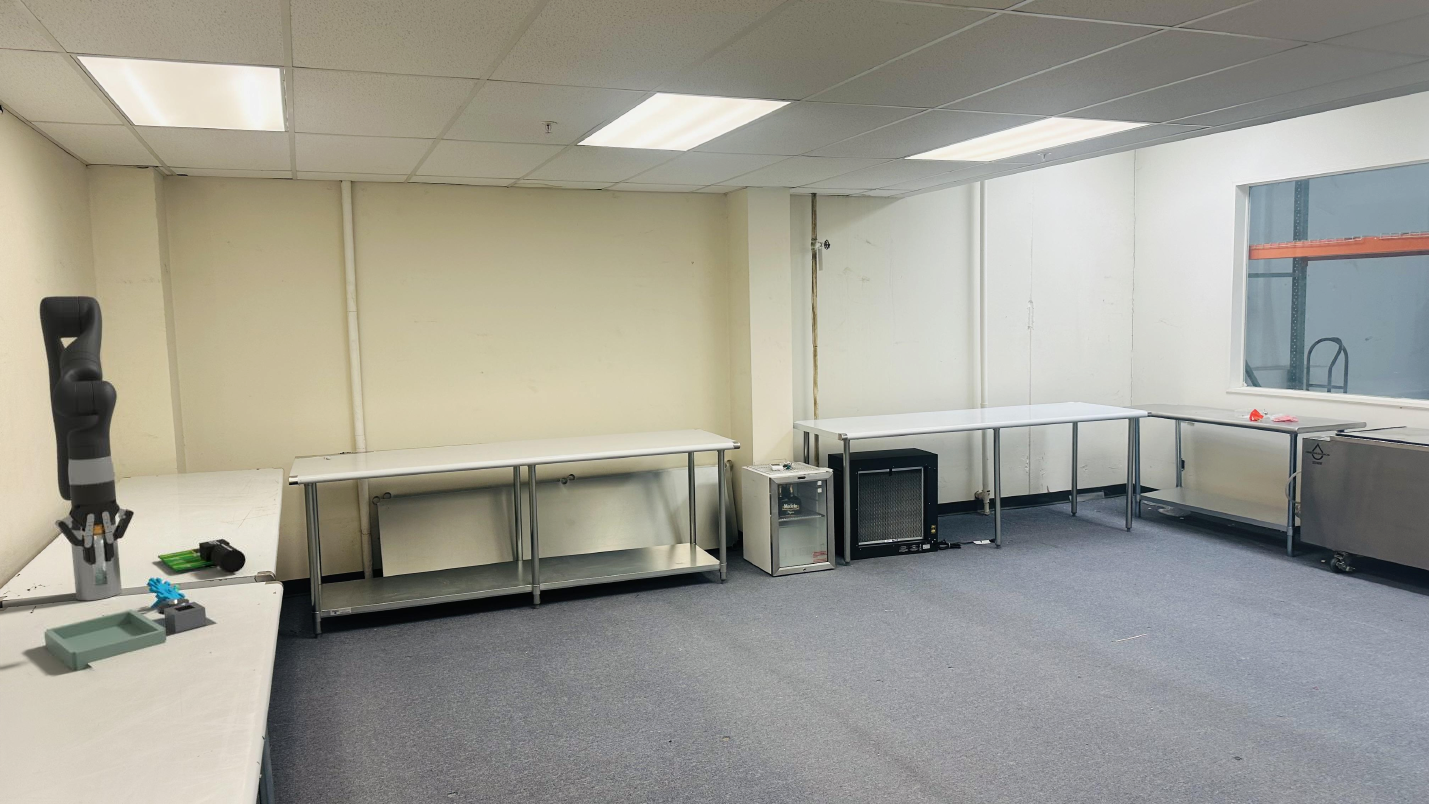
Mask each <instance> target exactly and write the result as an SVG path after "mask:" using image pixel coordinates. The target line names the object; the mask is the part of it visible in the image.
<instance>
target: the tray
mask: <svg viewBox="0 0 1429 804" xmlns="http://www.w3.org/2000/svg"><path fill="white" fill-rule="evenodd" d="M44 641H45V649H46V648H47V649H46V650H48V651H49V652H50V653H51V654H52V653H53V654H52V655H54V657H56V658H57V659H58V660H60V661H61V662H62V663H63V664H64V665H66V666H67V667H68V668H69V669H70V668H71V669H70V670H71V671H74V669H75V670H76V671H78V670H79V671H82V669H83V670H86V669H89V668H92V666H91V663H93V662H97V661H102V660H105V659H109V658H113V657H116V656H121V655H125V654H127V653H132V652H135V651H139V650H144V649H146V648H147V649H148V648H150V647H155V646H159V645H162V644H166V641H167V637H166V629H165V628H164V627H162V626H160V625H159V624H157V623H155V622H154V620H152V619H150V618H148V617H147V616H145V615H143V614H142V613H140V612H138V611H137V610H131V609H129V610H125V611H120V612H116V613H112V614H108V615H103V616H99V617H94V618H91V619H86V620H82V621H78V622H73V623H68V624H65V625H64V624H63V625H60V626H55V627H52V628H48V629H46V630H45V631H44ZM89 663H90V664H89Z"/></svg>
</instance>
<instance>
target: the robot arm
mask: <svg viewBox="0 0 1429 804" xmlns="http://www.w3.org/2000/svg"><path fill="white" fill-rule="evenodd" d="M39 319H40V324H41V325H40V327H41V330H42V331H41V332H42V337H43V342H44V348H45V353H46V354H45V355H46V359H47V367H48V380H49V394H50V396H49V398H50V405H51V406H50V407H51V414H52V419H53V426H54V432H55V441H56V463H57V464H56V465H57V466H56V468H57V485H58V491H59V494H60V496H61V498H62V499H63V500H65V501H70V506H71V508H70V511H69V512H68V515H67V516H65V517H64V518H62V519H58V520H56V521H55V523H54V524H55V526H56V527H57V528H58V530H60V533H62V535H64V537H65V538H66V539H67V540H68V543H70V545H71V554H72V555H71V556H72V567H73V568H72V569H73V579H74V589H75V599H76V600H79V601H96V600H101V599H102V600H103V599H107V598H111V597H114V596H117V595H118V594H121V592H122V581H121V579H122V578H121V567H120V565H121V563H120V555H119V554H120V553H119V543H118V540H120V539H123V538H124V536H125V534H126V532H127V530H128V527H129V526H130V523H131V521H132V519H133V516H134V514H135V513H134V511H133V510H130V509H129V508H126V509H125V508H121V506H120V505H119V504H118V502H117V495H116V494H117V493H116V492H117V491H116V482H115V475H116V474H115V473H116V472H115V469H114V462H113V459H112V454H111V453H112V451H111V442H110V441H111V439H110V437H111V436H110V430H111V425H112V420H113V419H112V418H113V415H114V410H115V407H116V404H117V399H118V398H117V397H118V396H117V394H118V393H117V390H116V388H115V387H114V384H113V383H111V382H109V381H107V380H103V378H104V377H103V376H104V375H103V370H102V369H103V368H102V362H101V348H102V342H103V341H102V339H103V315H102V308H101V305H100V303H99V301H98V300H97V299H96V298H94V297H92V296H85V295H84V296H83V295H81V296H78V295H76V296H75V295H74V296H72V295H71V296H66V295H65V296H59V295H57V296H45V297H43V298H42V299H41V300H40V304H39ZM69 338H70V339H72V338H75V339H73V341H72V342H70V343H69V344H68V345H67V346H66V347H65V345H64V343H63V341H62V339H69ZM117 515H118V516H117ZM116 516H117V517H118V519H119V520H118V521H117V520H116ZM101 524H102V526H103V528H104V537H105V549H106V561H107V572H108V584H105V585H101V586H95V585H94V576H93V564H94V552H93V547H92V546H91V545H92V535H93V528H94V526H95V525H101Z"/></svg>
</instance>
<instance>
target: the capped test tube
mask: <svg viewBox="0 0 1429 804" xmlns="http://www.w3.org/2000/svg"><path fill="white" fill-rule="evenodd" d="M91 546H92V547H93V552H94V564H93V576H94V585H95V586H101V585H105V584H108V572H107V561H106V549H105V537H104V528H103V526H102V524H101V525H95V526H94V528H93V535H92V545H91Z"/></svg>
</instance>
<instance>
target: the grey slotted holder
mask: <svg viewBox="0 0 1429 804" xmlns="http://www.w3.org/2000/svg"><path fill="white" fill-rule="evenodd" d="M156 608H157V613H158V614H159V615H164V617H163V618H159V619H154V620H153V621H154V622H155V623H157V624H159V625H160V626H162V627H164V628H165V629H166V638H167V637H169V636H174V635H179V634H181V633H182V634H183V633H185V632H190V631H193V630H197V629H201V628H205V627H209V626H212V625H216V624H218V623H217V622H216V621H214V620H212V619H210V618H209V617H207V615H206V614H207V613H206V607H205V606H204V605H201V604H199V603H197V602H195V601H191V602H190V600H189V599H188V598H184V599H170V600H167V601H164V602H161V603H159V604H158V605H157V606H156Z"/></svg>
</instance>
